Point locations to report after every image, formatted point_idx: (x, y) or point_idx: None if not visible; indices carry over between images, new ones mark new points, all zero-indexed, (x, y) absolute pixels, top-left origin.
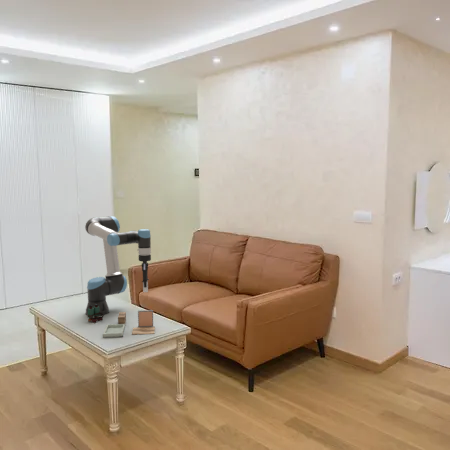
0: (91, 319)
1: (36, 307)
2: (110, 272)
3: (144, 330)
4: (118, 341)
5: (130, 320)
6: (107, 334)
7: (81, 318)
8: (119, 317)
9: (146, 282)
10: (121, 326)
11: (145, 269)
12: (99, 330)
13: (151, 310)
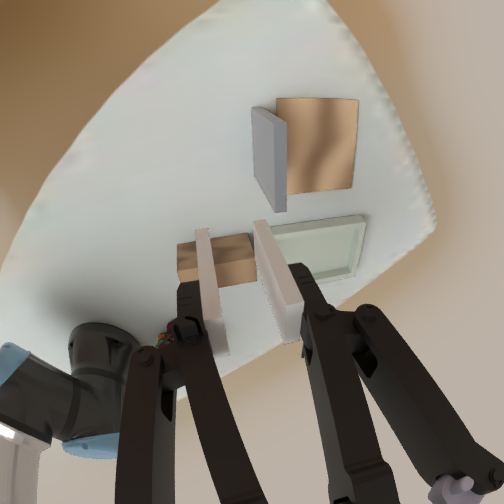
0: None
1: None
2: (38, 454)
3: (321, 142)
4: (391, 218)
5: (169, 228)
6: (356, 263)
7: None
8: (256, 275)
9: (301, 304)
10: None
11: (478, 456)
12: None
13: (281, 132)
